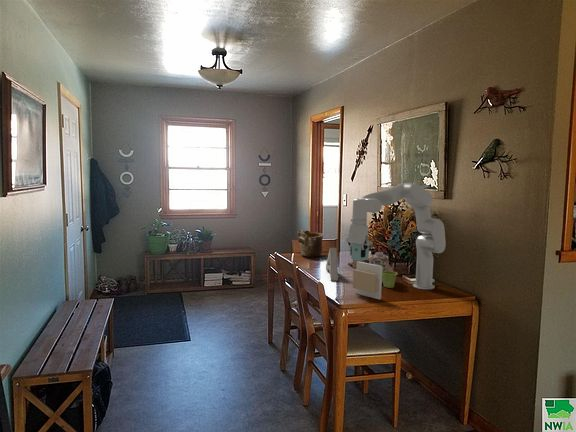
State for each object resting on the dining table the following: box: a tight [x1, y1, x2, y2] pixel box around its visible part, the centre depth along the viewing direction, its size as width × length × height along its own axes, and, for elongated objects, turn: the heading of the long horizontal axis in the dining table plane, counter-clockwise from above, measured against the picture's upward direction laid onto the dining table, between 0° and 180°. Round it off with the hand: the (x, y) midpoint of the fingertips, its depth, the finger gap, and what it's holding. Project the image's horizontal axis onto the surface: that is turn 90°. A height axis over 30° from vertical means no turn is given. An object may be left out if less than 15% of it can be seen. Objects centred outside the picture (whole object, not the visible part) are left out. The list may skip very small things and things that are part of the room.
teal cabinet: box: [350, 241, 374, 262], centre depth 234 cm, size 11×6×9 cm, turn 134°
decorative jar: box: [368, 251, 390, 284], centre depth 277 cm, size 12×12×18 cm
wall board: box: [352, 261, 383, 300], centre depth 240 cm, size 5×16×18 cm, turn 44°
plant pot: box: [382, 270, 398, 289], centre depth 263 cm, size 9×9×9 cm
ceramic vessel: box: [296, 229, 324, 258], centre depth 354 cm, size 23×24×25 cm
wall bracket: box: [325, 247, 339, 282], centre depth 291 cm, size 22×4×30 cm
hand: (357, 255), depth 232 cm, fingers closed on teal cabinet, 6 cm apart
